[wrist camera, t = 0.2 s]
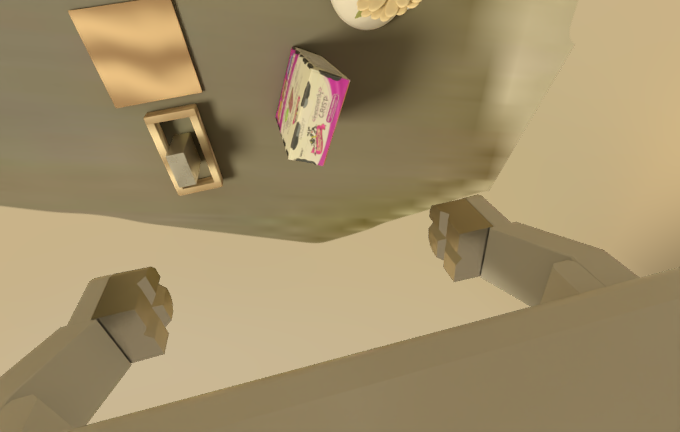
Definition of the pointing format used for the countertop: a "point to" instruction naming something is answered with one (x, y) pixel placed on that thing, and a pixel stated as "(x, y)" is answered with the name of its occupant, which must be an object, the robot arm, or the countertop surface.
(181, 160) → the grey block
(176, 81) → the cork mat
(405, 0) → the flower in vase
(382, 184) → the countertop surface
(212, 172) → the birch box
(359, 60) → the countertop surface
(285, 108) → the candy bar box
